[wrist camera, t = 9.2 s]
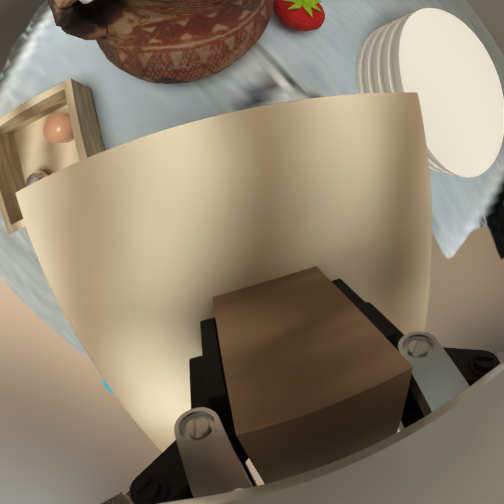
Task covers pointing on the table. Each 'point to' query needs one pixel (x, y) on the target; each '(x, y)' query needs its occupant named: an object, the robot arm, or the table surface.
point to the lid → (251, 268)
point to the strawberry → (300, 14)
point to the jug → (167, 33)
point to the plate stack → (440, 86)
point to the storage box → (44, 142)
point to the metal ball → (35, 177)
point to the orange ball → (58, 128)
